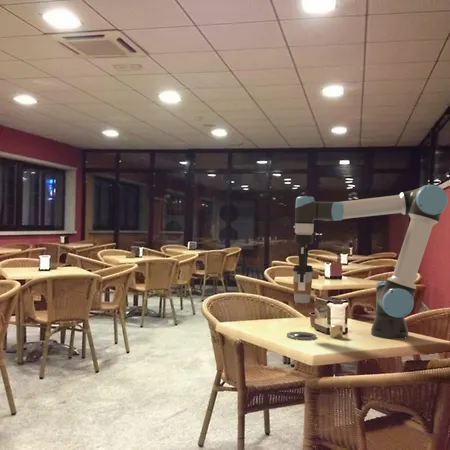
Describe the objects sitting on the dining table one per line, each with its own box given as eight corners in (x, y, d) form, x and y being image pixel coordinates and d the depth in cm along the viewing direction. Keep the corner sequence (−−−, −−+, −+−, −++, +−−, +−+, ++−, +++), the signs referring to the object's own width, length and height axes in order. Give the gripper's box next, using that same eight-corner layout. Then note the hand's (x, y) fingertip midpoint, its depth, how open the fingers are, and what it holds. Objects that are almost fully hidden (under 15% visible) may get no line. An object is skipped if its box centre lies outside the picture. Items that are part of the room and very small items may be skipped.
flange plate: (316, 335, 222) (316, 332, 222) (315, 341, 210) (315, 338, 210) (288, 333, 225) (288, 330, 225) (285, 339, 213) (285, 336, 213)
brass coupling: (342, 336, 220) (342, 325, 220) (342, 339, 215) (342, 327, 215) (330, 336, 221) (330, 324, 221) (329, 338, 216) (330, 326, 216)
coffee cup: (311, 304, 213) (312, 266, 213) (291, 302, 214) (292, 265, 214) (312, 301, 221) (313, 265, 221) (292, 300, 222) (293, 264, 222)
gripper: (297, 233, 229) (295, 285, 229) (292, 234, 208) (290, 291, 208) (314, 234, 227) (313, 286, 227) (311, 234, 206) (310, 292, 206)
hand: (302, 289), depth 218 cm, fingers closed on coffee cup, 8 cm apart
